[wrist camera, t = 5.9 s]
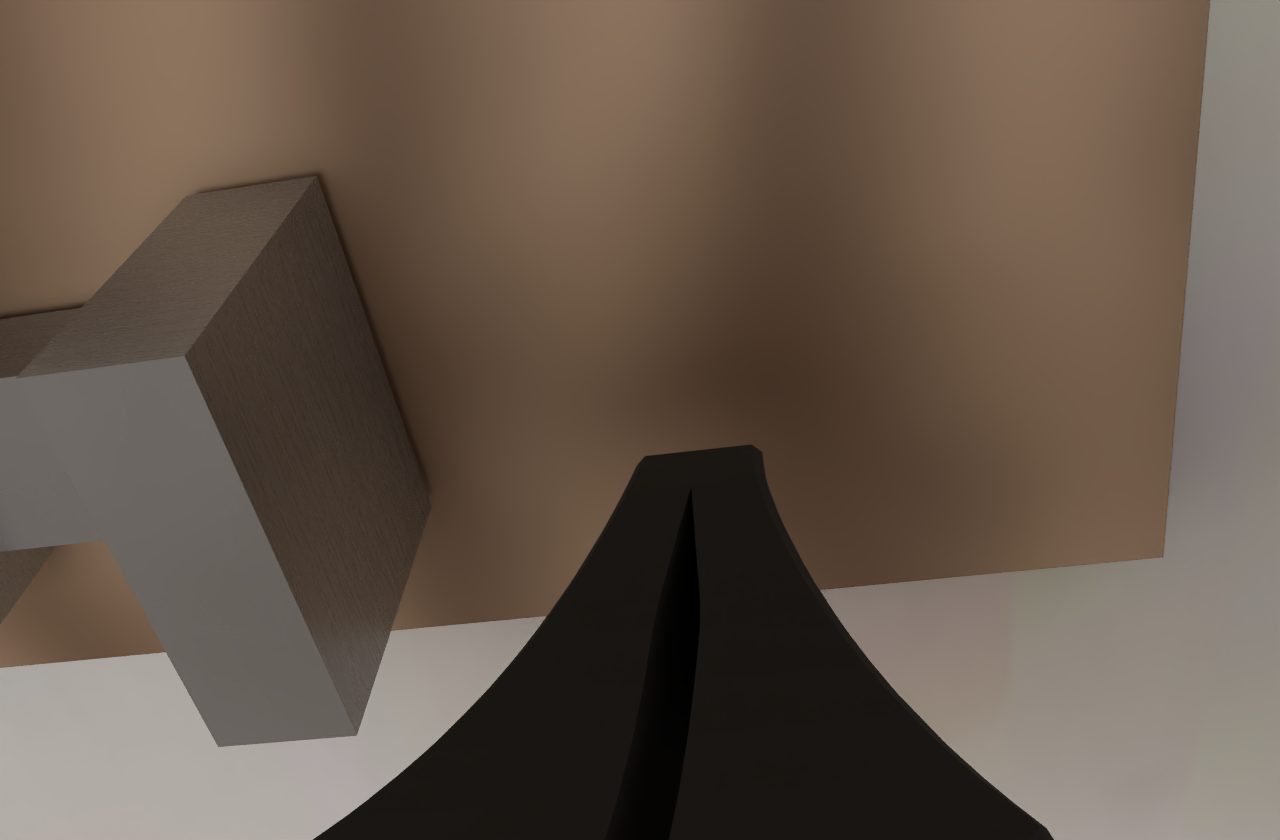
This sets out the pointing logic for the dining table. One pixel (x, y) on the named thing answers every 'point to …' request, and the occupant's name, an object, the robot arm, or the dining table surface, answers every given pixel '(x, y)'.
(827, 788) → the robot arm
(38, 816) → the dining table surface
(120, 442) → the grey h-shaped block
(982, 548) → the launcher board
